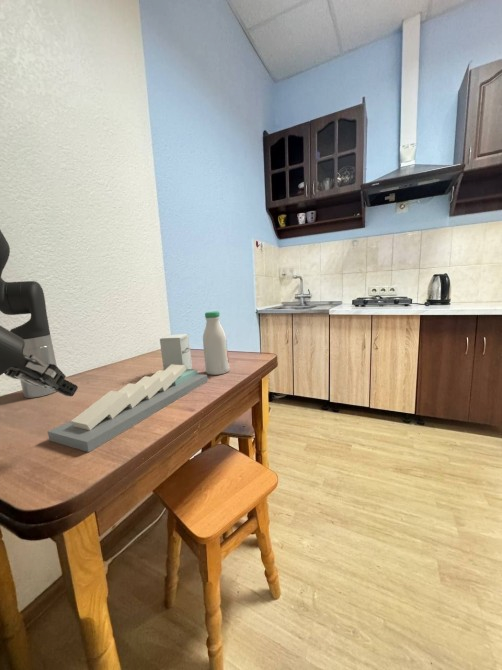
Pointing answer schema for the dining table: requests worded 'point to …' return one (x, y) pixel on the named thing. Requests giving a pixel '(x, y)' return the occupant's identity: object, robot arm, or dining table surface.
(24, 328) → the robot arm
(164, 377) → the domino
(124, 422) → the board
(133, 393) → the domino
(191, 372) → the domino
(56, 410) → the dining table surface
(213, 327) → the milk bottle
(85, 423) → the domino
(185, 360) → the supplement box
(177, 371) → the domino
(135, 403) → the domino
